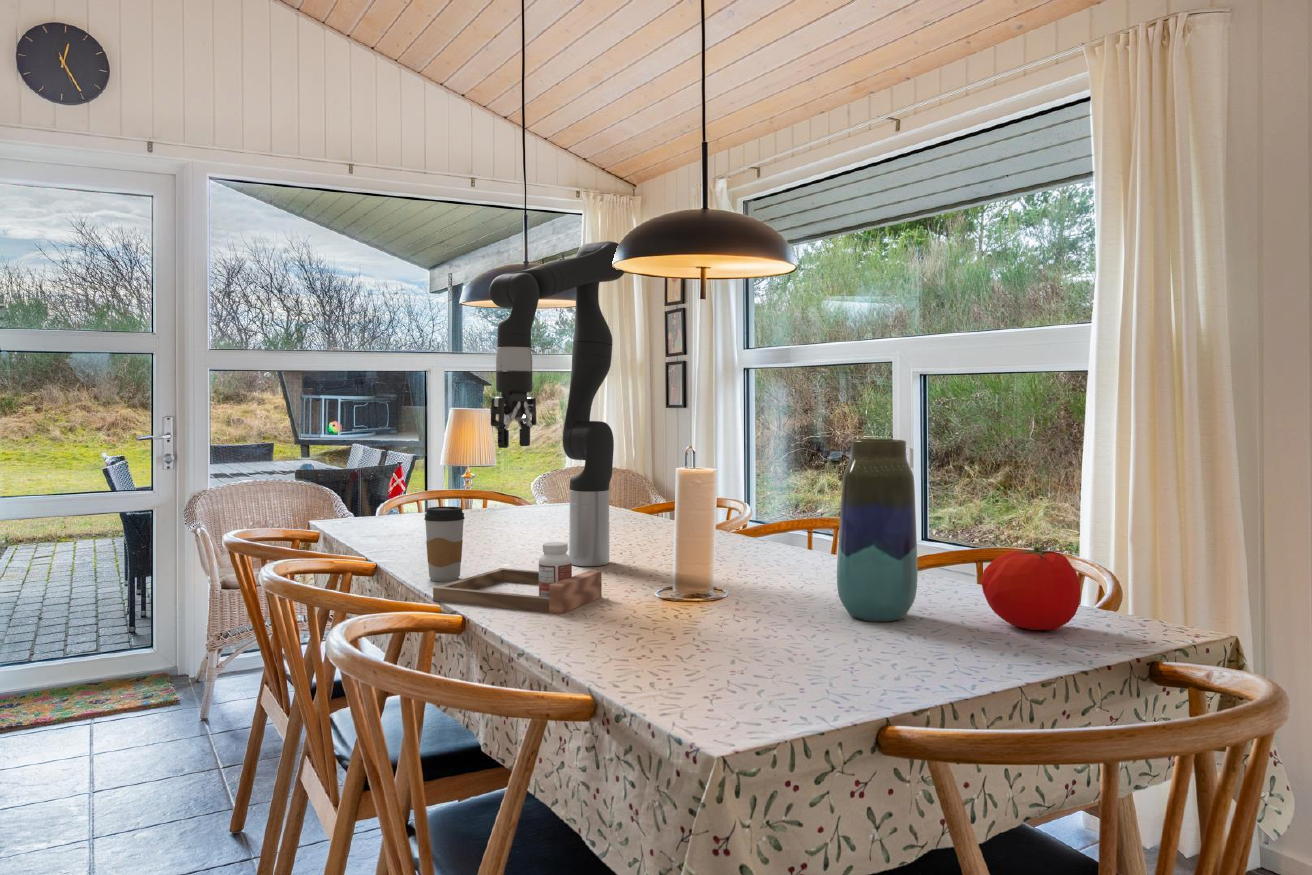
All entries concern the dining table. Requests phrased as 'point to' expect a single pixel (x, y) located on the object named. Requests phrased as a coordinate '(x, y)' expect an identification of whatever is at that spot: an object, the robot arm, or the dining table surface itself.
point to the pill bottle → (553, 566)
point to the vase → (877, 532)
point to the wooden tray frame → (559, 601)
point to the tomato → (1032, 588)
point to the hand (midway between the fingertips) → (514, 447)
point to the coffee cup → (444, 542)
